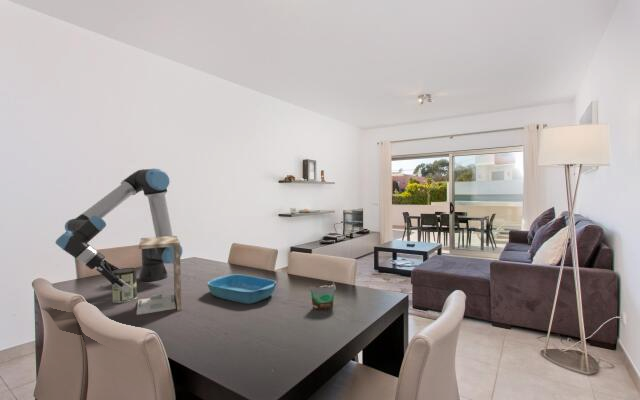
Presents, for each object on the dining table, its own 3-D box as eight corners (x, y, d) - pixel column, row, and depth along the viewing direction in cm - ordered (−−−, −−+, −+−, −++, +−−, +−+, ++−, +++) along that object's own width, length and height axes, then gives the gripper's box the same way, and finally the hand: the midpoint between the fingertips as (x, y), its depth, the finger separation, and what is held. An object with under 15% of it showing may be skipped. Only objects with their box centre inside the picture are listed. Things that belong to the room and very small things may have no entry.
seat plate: (136, 314, 136) (136, 308, 136) (138, 301, 152) (138, 296, 152) (175, 308, 143) (175, 303, 143) (173, 296, 159) (173, 291, 159)
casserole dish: (198, 295, 161) (198, 281, 161) (232, 284, 180) (232, 271, 180) (253, 309, 142) (253, 293, 141) (285, 295, 161) (285, 281, 160)
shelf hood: (140, 316, 134) (138, 245, 133) (142, 299, 155) (140, 238, 154) (181, 310, 141) (179, 242, 140) (177, 294, 162) (176, 235, 162)
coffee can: (126, 294, 162) (125, 266, 162) (142, 297, 159) (141, 268, 159) (106, 301, 153) (106, 271, 152) (123, 304, 149) (122, 273, 149)
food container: (316, 313, 136) (315, 289, 136) (309, 308, 142) (309, 286, 142) (341, 308, 142) (341, 285, 142) (334, 303, 147) (334, 282, 147)
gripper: (89, 259, 159) (125, 285, 167) (79, 270, 137) (121, 299, 144) (101, 247, 162) (137, 273, 169) (93, 256, 139) (134, 286, 147)
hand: (130, 285), depth 157 cm, fingers open, 13 cm apart
